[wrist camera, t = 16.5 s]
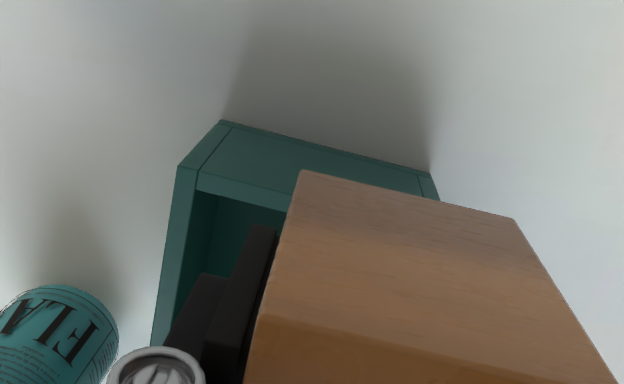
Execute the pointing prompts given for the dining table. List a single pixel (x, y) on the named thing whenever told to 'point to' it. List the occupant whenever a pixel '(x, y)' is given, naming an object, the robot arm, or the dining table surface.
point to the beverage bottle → (56, 338)
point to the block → (410, 297)
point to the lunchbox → (247, 201)
